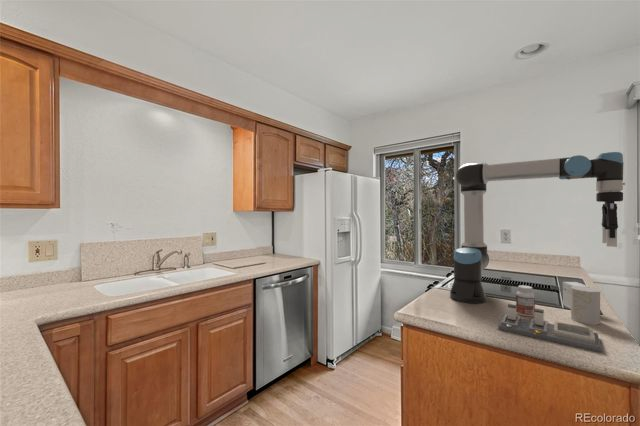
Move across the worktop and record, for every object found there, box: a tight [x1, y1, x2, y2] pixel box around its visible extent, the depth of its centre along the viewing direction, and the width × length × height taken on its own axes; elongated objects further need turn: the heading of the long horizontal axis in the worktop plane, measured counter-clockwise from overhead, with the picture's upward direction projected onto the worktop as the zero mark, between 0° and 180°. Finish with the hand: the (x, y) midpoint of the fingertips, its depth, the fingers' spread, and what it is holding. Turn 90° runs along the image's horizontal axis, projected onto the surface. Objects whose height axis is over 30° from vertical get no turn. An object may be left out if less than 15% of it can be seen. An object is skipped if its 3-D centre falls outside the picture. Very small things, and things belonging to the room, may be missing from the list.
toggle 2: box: [533, 308, 545, 326], centre depth 101 cm, size 2×2×5 cm
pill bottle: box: [515, 284, 536, 317], centre depth 115 cm, size 6×6×11 cm
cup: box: [570, 286, 601, 326], centre depth 108 cm, size 8×8×12 cm
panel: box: [497, 312, 603, 353], centre depth 97 cm, size 26×13×3 cm, turn 50°
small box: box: [562, 281, 590, 310], centre depth 121 cm, size 8×6×10 cm
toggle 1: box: [507, 303, 517, 320], centre depth 106 cm, size 2×2×5 cm
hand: (609, 244), depth 114 cm, fingers open, 13 cm apart
